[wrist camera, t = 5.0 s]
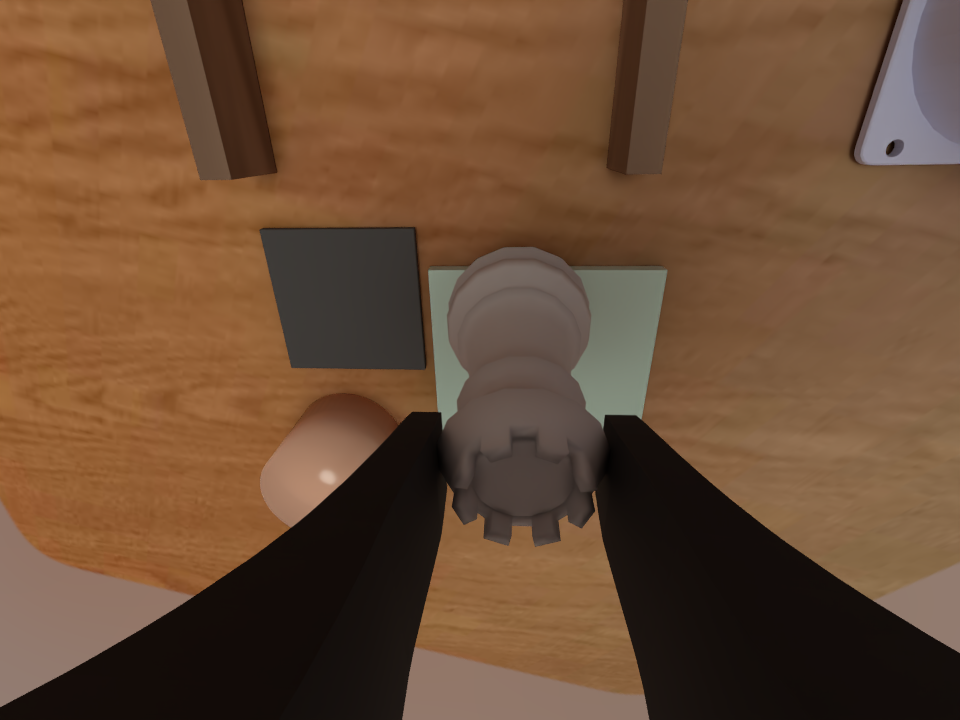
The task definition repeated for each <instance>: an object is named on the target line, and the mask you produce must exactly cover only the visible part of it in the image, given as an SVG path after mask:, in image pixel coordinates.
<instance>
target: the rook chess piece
mask: <svg viewBox="0 0 960 720" xmlns="http://www.w3.org/2000/svg"><path fill="white" fill-rule="evenodd" d="M448 307H449V311H448V314H447V323H448V337H449V343H450V345H451V347H452V349H453V351H454V353H455V355H456V357H457V359H458V360H459V362H460V364H461V366H462V367H463V368H464V369H465V370H466V371H467V372H468V374H469V378H468V379H467V380H466V381H465V383H464V385H463V388H462V390H461V392H460V394H459V397H458V399H457V412H456V413H455V414H454V415H453V416H451V417H450V418H449V419H448V420H447V422H446V424H445V426H444V429H443V431H442V433H441V436H440V438H439V440H438V442H437V450H438V460H439V470H440V472H441V474H442V475H443V477H444V479H445V480H446V482H447V483H448V485H449V486H450V488H451V489H452V491H453V492H454V496H453V503H452V508H453V509H454V511H455V512H456V514H457V515H458V517H459V518H460V520H461V521H462V523H463V524H467V523H469V522H471V521H474V520H476V519H477V513H478V514H480V515H481V516H483V517H484V518H485V524H484V539H488V540H491V541H494V542H497V543H501V544H504V545H507V546H508V545H509V542H510V539H511V534H512V526H532V537H533V540H534V544H535V547H536V546H541V545H545V544H549V543H553V542H558V541H561V540H560V531H559V522H558V520H560V519H561V518H563V517H565V516H566V515H568V521H569V522H570V523H572V524H574V525H576V526H578V527H580V528H582V527H583V526H584V525H585V524H586V522H587V521H588V520H589V518H590V517H591V516H592V514H593V513H594V512H595V508H594V503H593V498H592V493H593V491H597V490H598V488H597V486H598V485H599V483H600V482H601V481H602V479H603V478H604V476H605V475H606V473H607V467H608V460H609V454H610V446H609V444H608V441H607V438H606V436H605V433H604V431H603V428H602V426H601V423H600V422H599V421H598V420H597V419H596V418H595V417H594V416H593V415H591V414H590V413H589V412H588V411H587V410H586V409H585V408H586V401H585V398H584V396H583V393H582V391H581V388H580V386H579V383H578V382H577V381H576V380H575V379H574V378H573V377H572V376H571V370H573V369H574V368H575V366H576V365H577V363H578V361H579V360H580V358H581V356H582V354H583V353H584V351H585V349H586V348H587V345H588V342H589V334H590V325H591V312H590V309H589V300H588V297H587V294H586V292H585V289H584V286H583V283H582V280H581V278H580V277H579V276H578V275H577V274H576V273H575V272H574V271H573V270H572V268H571V267H570V266H569V265H568V264H567V263H566V262H565V261H564V260H563V259H562V258H560V257H558V256H555V255H553V254H550V253H548V252H545V251H543V250H540V249H538V248H535V247H504V248H501V249H499V250H496V251H494V252H492V253H489V254H487V255H484V256H482V257H480V258H477V259H476V260H475V261H474V262H473V263H472V264H471V265H470V266H469V267H468V268H467V269H466V270H465V271H464V272H463V273H462V274H461V275H460V276H459V278H458V279H457V281H456V284H455V286H454V289H453V292H452V294H451V297H450V300H449V302H448Z"/></svg>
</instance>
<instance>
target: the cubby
mask: <svg viewBox="0 0 960 720" xmlns="http://www.w3.org/2000/svg"><path fill="white" fill-rule="evenodd" d="M687 3H688V0H624V2H623V12H622V22H621V32H620V42H619V51H618V61H617V71H616V81H615V91H614V101H613V110H612V120H611V130H610V140H609V150H608V160H607V168H608V169H611V170H614V171H617V172H620V173H623V174H661V173H662V166H663V160H664V153H665V147H666V140H667V133H668V127H669V120H670V114H671V107H672V101H673V94H674V88H675V81H676V75H677V68H678V62H679V55H680V49H681V42H682V35H683V29H684V22H685V16H686V9H687ZM151 4H152V7H153V11H154V14H155V18H156V22H157V25H158V29H159V32H160V36H161V40H162V43H163V47H164V50H165V54H166V58H167V61H168V65H169V69H170V72H171V76H172V79H173V83H174V87H175V90H176V94H177V97H178V101H179V105H180V108H181V112H182V115H183V119H184V123H185V126H186V130H187V133H188V137H189V141H190V144H191V148H192V151H193V155H194V159H195V162H196V166H197V170H198V173H199V177H200V180H233V179H239V178H245V177H252V176H258V175H264V174H271V173H277V171H276V166H275V161H274V156H273V152H272V147H271V142H270V137H269V132H268V127H267V122H266V117H265V112H264V108H263V103H262V98H261V93H260V88H259V83H258V78H257V73H256V68H255V64H254V59H253V54H252V49H251V44H250V39H249V34H248V29H247V24H246V19H245V15H244V10H243V5H242V0H151Z"/></svg>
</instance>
